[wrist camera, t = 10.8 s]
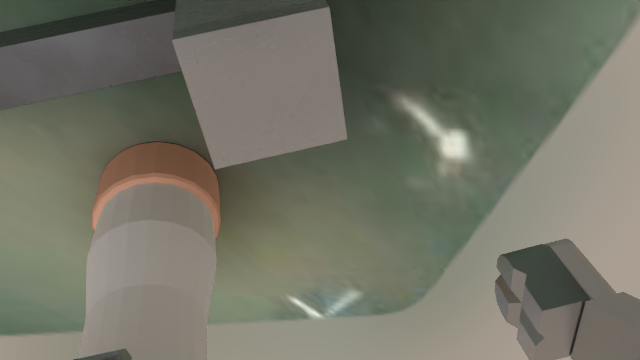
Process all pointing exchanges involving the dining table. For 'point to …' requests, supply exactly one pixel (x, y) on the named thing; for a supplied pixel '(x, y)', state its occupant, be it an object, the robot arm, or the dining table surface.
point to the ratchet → (87, 53)
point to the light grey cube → (260, 75)
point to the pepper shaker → (152, 255)
